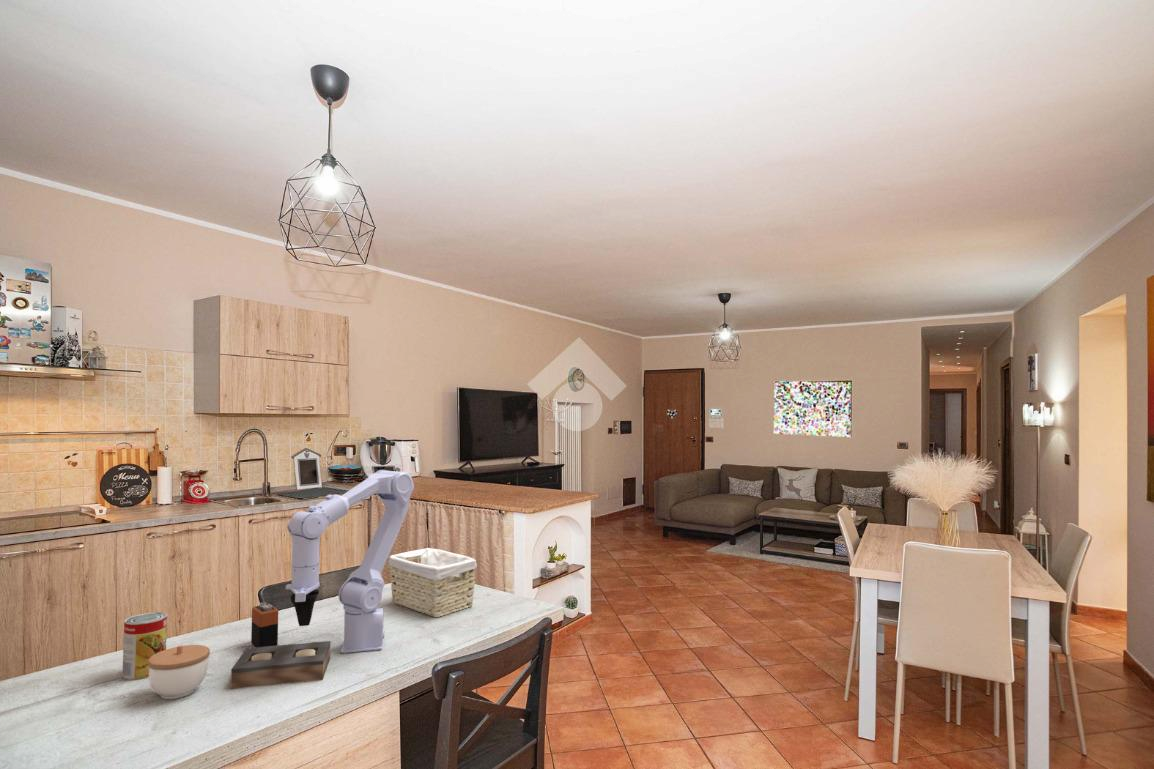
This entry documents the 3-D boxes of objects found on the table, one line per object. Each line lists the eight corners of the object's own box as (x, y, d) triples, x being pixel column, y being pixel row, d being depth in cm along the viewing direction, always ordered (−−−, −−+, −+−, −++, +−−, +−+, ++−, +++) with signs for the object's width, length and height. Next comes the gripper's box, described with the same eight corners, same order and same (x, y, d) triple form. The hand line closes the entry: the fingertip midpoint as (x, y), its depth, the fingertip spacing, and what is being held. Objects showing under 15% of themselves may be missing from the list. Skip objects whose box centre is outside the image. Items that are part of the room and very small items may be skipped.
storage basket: (478, 607, 183) (479, 557, 184) (434, 621, 171) (435, 567, 172) (429, 592, 198) (430, 546, 199) (385, 604, 186) (386, 555, 187)
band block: (330, 658, 145) (330, 640, 145) (322, 679, 133) (323, 660, 133) (245, 666, 140) (246, 648, 140) (230, 688, 128) (231, 669, 129)
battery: (259, 651, 149) (260, 609, 149) (250, 643, 154) (251, 603, 154) (278, 646, 152) (279, 605, 152) (269, 639, 157) (270, 599, 157)
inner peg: (316, 664, 140) (316, 648, 140) (313, 671, 136) (313, 654, 136) (297, 666, 139) (297, 649, 139) (293, 673, 135) (294, 656, 135)
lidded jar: (162, 709, 119) (164, 660, 120) (136, 696, 125) (138, 649, 126) (218, 688, 129) (220, 643, 129) (192, 677, 134) (193, 633, 135)
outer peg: (273, 668, 138) (273, 652, 138) (269, 675, 134) (269, 658, 134) (253, 670, 137) (254, 653, 137) (248, 677, 133) (249, 660, 133)
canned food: (173, 667, 139) (175, 614, 140) (139, 682, 132) (141, 625, 132) (149, 663, 142) (150, 610, 142) (113, 677, 134) (115, 621, 135)
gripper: (292, 558, 147) (290, 616, 146) (280, 573, 133) (279, 637, 132) (323, 556, 149) (322, 613, 148) (315, 571, 135) (314, 634, 134)
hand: (304, 624), depth 140 cm, fingers closed
